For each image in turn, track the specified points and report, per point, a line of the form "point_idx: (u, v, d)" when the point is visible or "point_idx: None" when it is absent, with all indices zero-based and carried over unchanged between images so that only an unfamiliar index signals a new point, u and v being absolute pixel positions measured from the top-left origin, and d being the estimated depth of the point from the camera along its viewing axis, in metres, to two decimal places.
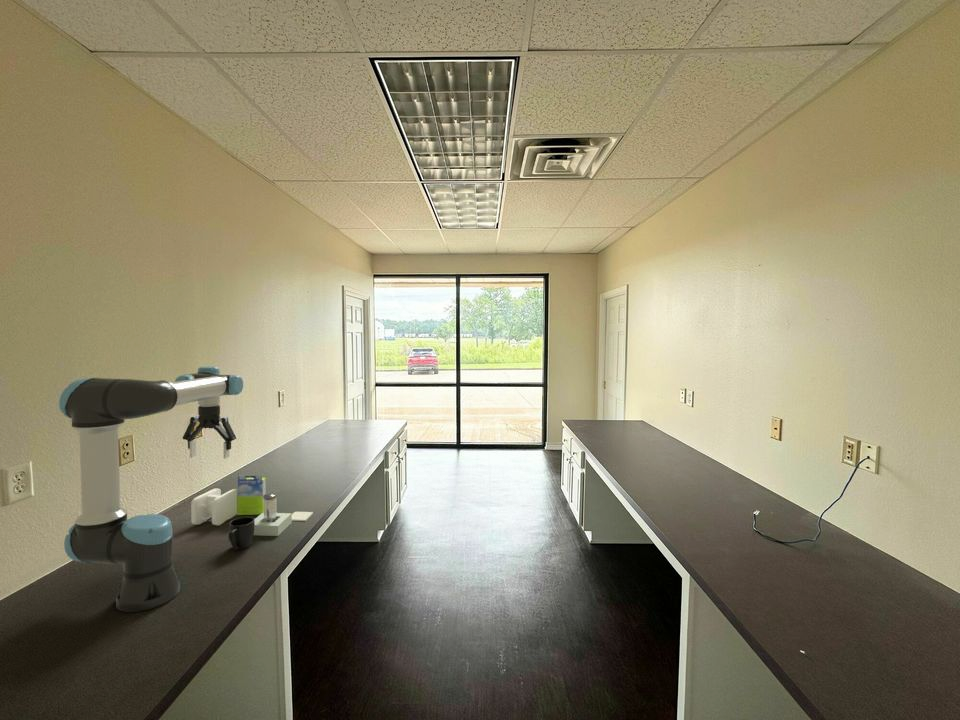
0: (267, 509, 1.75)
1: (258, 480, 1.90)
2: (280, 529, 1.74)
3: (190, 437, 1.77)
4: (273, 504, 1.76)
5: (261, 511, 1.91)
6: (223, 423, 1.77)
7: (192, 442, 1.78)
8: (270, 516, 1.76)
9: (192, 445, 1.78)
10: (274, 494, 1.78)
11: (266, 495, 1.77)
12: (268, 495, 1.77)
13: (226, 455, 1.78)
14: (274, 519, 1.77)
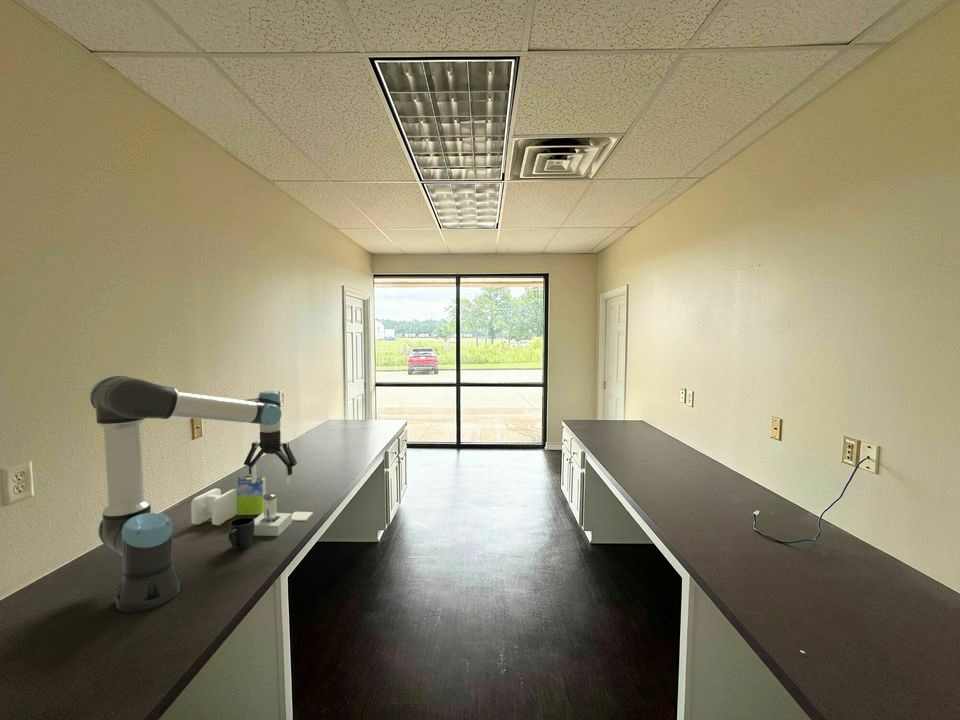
0: (267, 509, 1.75)
1: (258, 480, 1.90)
2: (280, 529, 1.74)
3: (251, 463, 1.75)
4: (273, 504, 1.76)
5: (261, 511, 1.91)
6: (284, 448, 1.75)
7: (253, 468, 1.76)
8: (270, 516, 1.76)
9: (253, 471, 1.76)
10: (274, 494, 1.78)
11: (266, 495, 1.77)
12: (268, 495, 1.77)
13: (287, 481, 1.76)
14: (274, 519, 1.77)
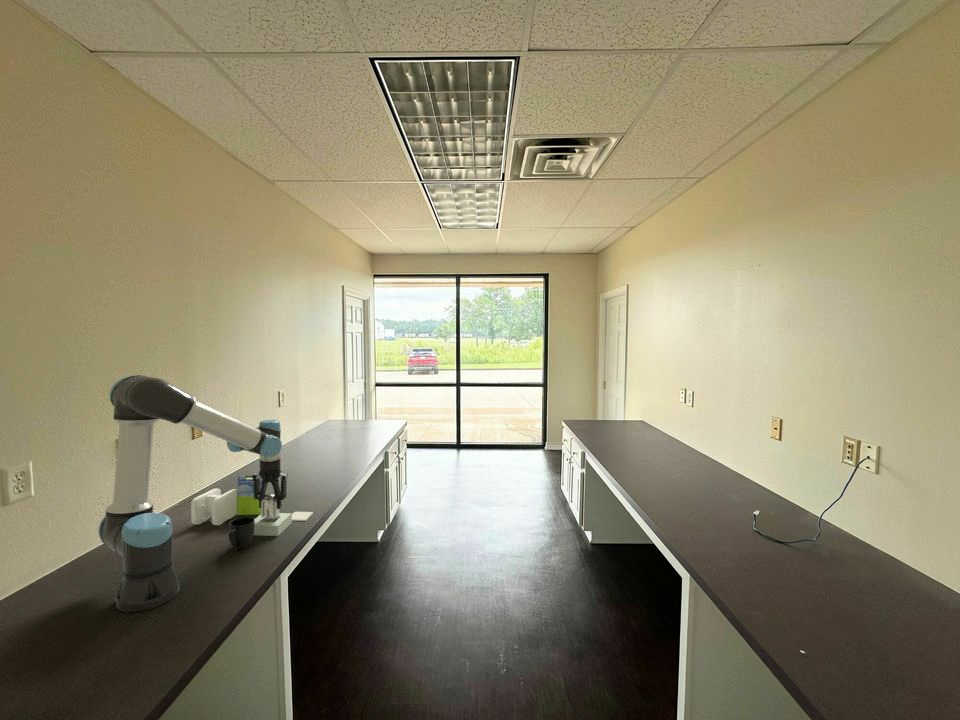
0: (267, 508, 1.75)
1: None
2: (280, 529, 1.74)
3: (260, 496, 1.76)
4: (273, 504, 1.76)
5: None
6: (282, 481, 1.75)
7: (263, 502, 1.77)
8: (270, 516, 1.76)
9: (263, 505, 1.77)
10: (274, 494, 1.78)
11: (266, 495, 1.77)
12: (268, 495, 1.77)
13: (277, 514, 1.77)
14: (274, 519, 1.77)
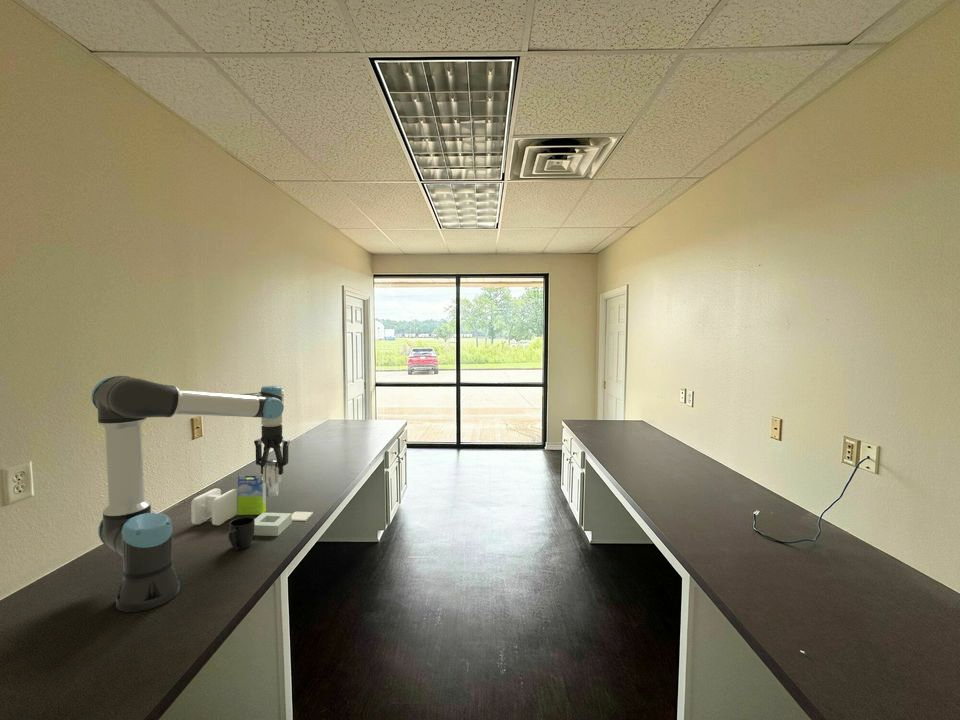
0: (268, 474, 1.75)
1: (258, 480, 1.90)
2: (280, 529, 1.74)
3: (262, 462, 1.76)
4: (275, 470, 1.76)
5: (261, 511, 1.91)
6: (284, 446, 1.75)
7: (265, 467, 1.76)
8: (272, 482, 1.76)
9: (265, 470, 1.77)
10: (276, 460, 1.78)
11: (268, 461, 1.77)
12: (270, 461, 1.77)
13: (278, 480, 1.77)
14: (276, 485, 1.77)
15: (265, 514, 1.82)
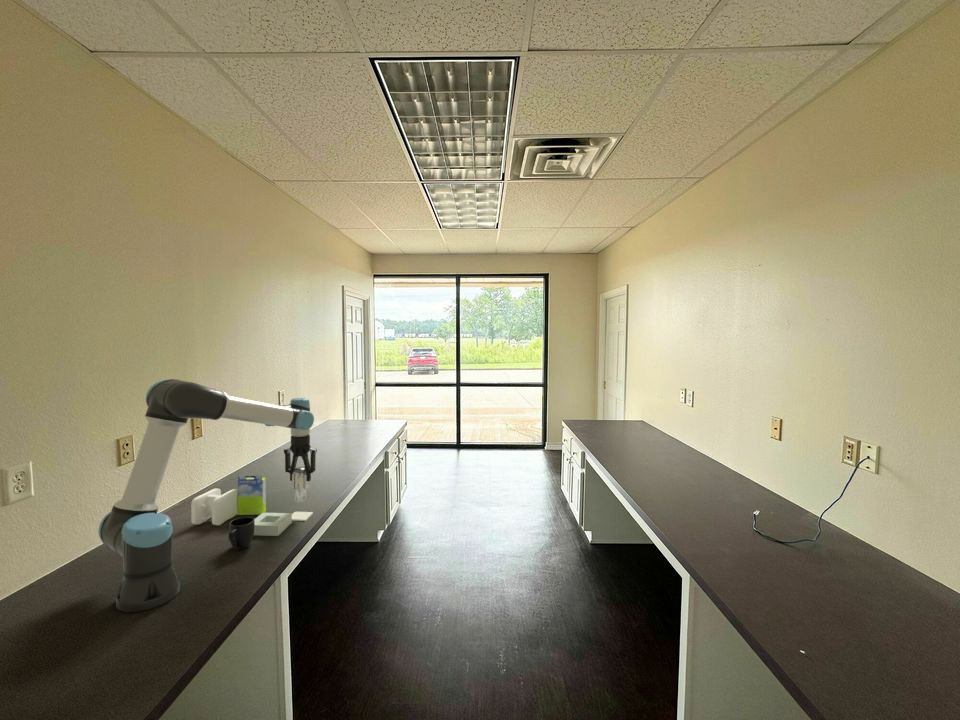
0: (297, 481, 1.87)
1: (258, 480, 1.90)
2: (280, 529, 1.74)
3: (291, 469, 1.87)
4: None
5: (261, 511, 1.91)
6: (312, 455, 1.87)
7: (294, 475, 1.88)
8: (301, 488, 1.87)
9: (294, 477, 1.88)
10: (304, 468, 1.89)
11: (297, 468, 1.88)
12: (298, 468, 1.88)
13: (306, 486, 1.88)
14: (304, 491, 1.88)
15: (265, 514, 1.82)
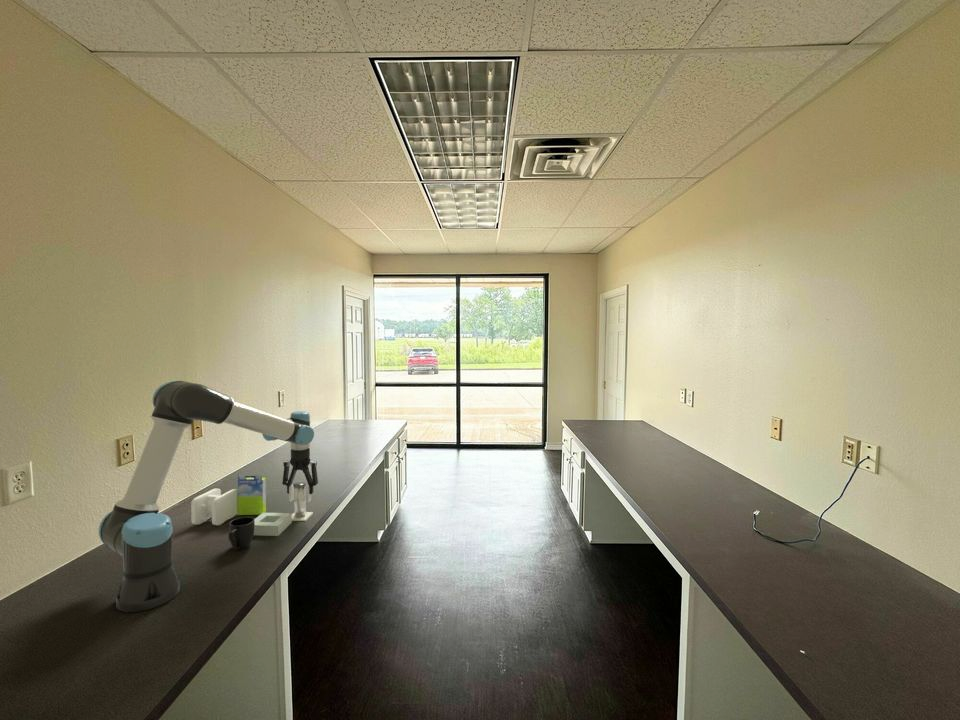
0: (297, 496, 1.87)
1: (258, 480, 1.90)
2: (280, 529, 1.74)
3: (288, 482, 1.88)
4: (303, 492, 1.88)
5: (261, 511, 1.91)
6: (312, 468, 1.87)
7: (291, 487, 1.88)
8: (300, 504, 1.87)
9: (291, 490, 1.88)
10: (303, 483, 1.90)
11: (296, 484, 1.88)
12: (298, 484, 1.88)
13: (309, 499, 1.89)
14: (304, 506, 1.89)
15: (265, 514, 1.82)
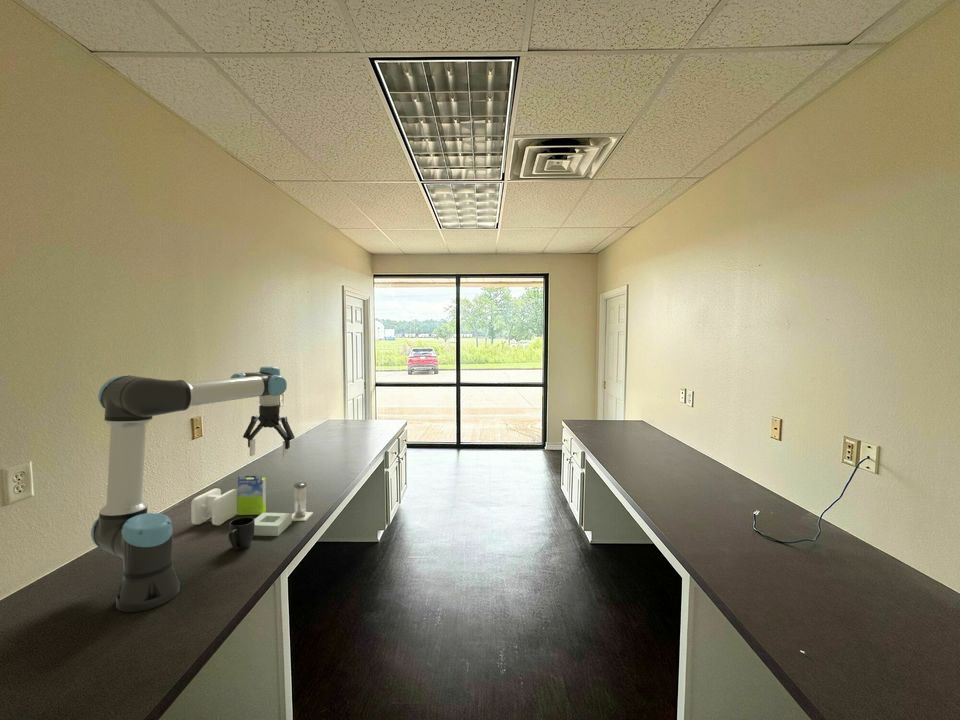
0: (297, 496, 1.87)
1: (258, 480, 1.90)
2: (280, 529, 1.74)
3: (250, 436, 1.80)
4: (303, 493, 1.88)
5: (261, 511, 1.91)
6: (283, 422, 1.79)
7: (252, 441, 1.81)
8: (301, 504, 1.87)
9: (252, 444, 1.81)
10: (304, 483, 1.90)
11: (297, 484, 1.88)
12: (298, 484, 1.88)
13: (285, 454, 1.80)
14: (304, 506, 1.89)
15: (265, 514, 1.82)
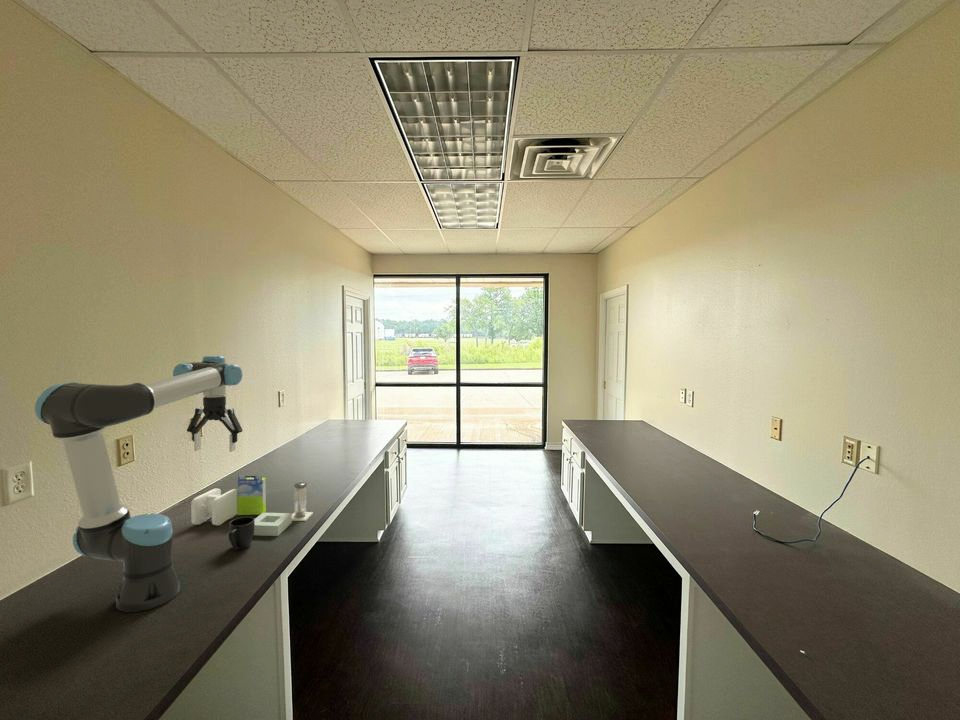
0: (297, 496, 1.87)
1: (258, 480, 1.90)
2: (280, 529, 1.74)
3: (195, 429, 1.70)
4: (304, 493, 1.88)
5: (261, 511, 1.91)
6: (229, 415, 1.69)
7: (197, 434, 1.70)
8: (301, 504, 1.87)
9: (197, 438, 1.70)
10: (304, 483, 1.90)
11: (297, 484, 1.88)
12: (299, 484, 1.88)
13: (232, 448, 1.70)
14: (304, 506, 1.89)
15: (265, 514, 1.82)
